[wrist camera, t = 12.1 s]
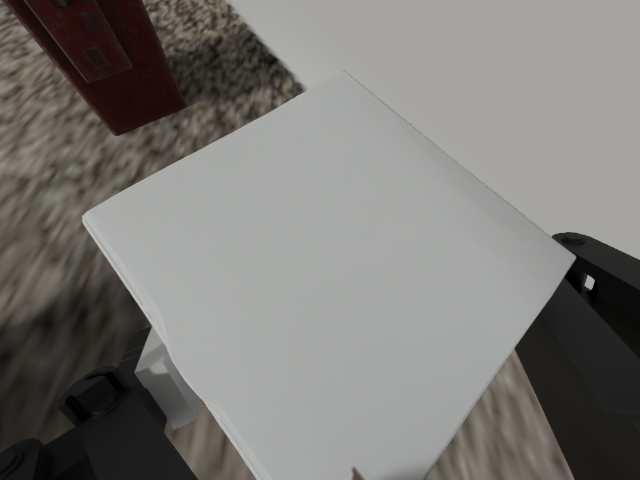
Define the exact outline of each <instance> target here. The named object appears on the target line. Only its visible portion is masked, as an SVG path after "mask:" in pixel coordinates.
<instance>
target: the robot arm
mask: <svg viewBox="0 0 640 480" xmlns="http://www.w3.org/2000/svg"><path fill="white" fill-rule="evenodd" d="M552 238H553V239H554V240H555V241H557V242H558V243H559V244H561V245H562V246H563V247H564V248H566V249H567V250H568V251H570V252H571V253H572V254H574V255H575V256H576V259H575V261H574V262H573V264H572V265H571V267H570V268H569V270H568V271H567V273H566V274H565V276H564V278H563V279H562V281H561V282H560V284H559V285H558V287H557V289H556V290H555V292H554V293H553V295H552V296H551V298H550V299H549V300H548V302H547V303H546V305H545V306H544V307H543V309H542V310H541V311H540V313H539V314H538V316H537V317H536V318H535V320H534V321H533V323H532V324H531V325H530V327H529V328H528V330H527V331H526V332H525V334H524V335H523V337H522V338H521V339H520V341H519V342H518V344H517V345H516V346H515V350H516V353H517V355H518V357H519V359H520V361H521V363H522V366H523V368H524V370H525V372H526V374H527V376H528V379H529V381H530V383H531V385H532V387H533V390H534V392H535V394H536V396H537V398H538V400H539V403H540V405H541V407H542V409H543V411H544V413H545V416H546V418H547V420H548V422H549V424H550V427H551V429H552V431H553V433H554V435H555V437H556V440H557V442H558V444H559V446H560V448H561V450H562V453H563V455H564V457H565V459H566V461H567V463H568V466H569V468H570V470H571V472H572V474H573V477H574V479H575V480H640V260H639V259H636V258H634V257H632V256H630V255H628V254H626V253H624V252H621V251H619V250H617V249H615V248H613V247H610V246H609V245H607V244H604V243H602V242H600V241H598V240H596V239H594V238H592V237H589V236H586V235H582V234H578V233H571V232H566V233H559V234H555V235H553V236H552ZM587 275H589V276H591V277H592V278H593V279H594V280H595V283H594V285H593V288H592V290H590V289H588V288H587V287H585V282H586V279H587ZM199 400H200V397H199V396H198V395H197V394H196V393H195V392H194V391H193V390H192V389H191V387H190V386H189V385H188V384H187V383H186V382H185V380H184V379H183V377H182V376H181V374H180V373H179V371H178V369H177V368H176V366H175V365H174V363H173V362H172V359H171V357H170V355H169V352H168V350H167V348H166V346H165V344H164V343H163V341H162V340H161V338H160V337H159V335H158V334H157V332H156V331H155V329H154V328H153V326H152V327H149V328H146V329H144V330H141V331H139V332H138V333H137V335H136V336H135V337H134V338H133V339H132V340H131V341H130V343H129V345H128V348H127V350H126V354H124V356H123V359H122V362H121V363H120V365H119V367H118V369H117V368H115V367H113V366H108V367H103V368H100V369H97V370H94V371H93V372H91V373H89V374H87V375H85V376H84V377H82V378H81V379H80V380H78V381H77V382H76V383H74V384H73V385H72V386H71V387H70V388H69V389H68V390H67V391H66V392H65V394H64V395H63V397H62V399H61V400H60V403H59V409H60V410H61V411H62V412H63V413H64V414H65V415H66V416H67V417H68V418H69V420H70V421H71V422H72V423H73V424H74V425H75V426H76V427H74V428H73V429H71V430H70V431H68V432H66V433H65V434H63V435H61V436H60V437H58V438H56V439H55V440H53V441H51V442H50V443H48V444H46V445H43V444H42V443H41V442H40V441H39V440H37V439H34V438H31V439H27V440H23V441H21V442H19V443H17V444H15V445H12V446H11V447H9V448H8V449H6V450H5V451H3V452H2V453H0V480H198V479H197V477H196V476H195V475H194V473H193V472H192V471H191V469H190V468H189V466H188V465H187V464H186V462H185V461H184V460H183V458H182V457H181V456H180V454H179V453H178V451H177V450H176V449H175V447H174V446H173V445H172V443H171V442H170V440H169V439H168V438H167V436H166V435H165V434H164V429H165V424H166V419H167V421H168V422H169V424H170V425H171V427H172V428H173V430H174V429H177V428H179V427H182V426H184V425H186V424H189V423H191V422H193V421H196V420H198V411H199Z"/></svg>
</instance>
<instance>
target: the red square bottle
mask: <svg viewBox="0 0 640 480" xmlns="http://www.w3.org/2000/svg"><path fill="white" fill-rule="evenodd" d="M2 1H3V2H4V3H5V5H6V6H7V7H8V8H9V9H10V11H11V12H12V13H13V14H14V15H15V17H16V18H17V19H18V20H19V21H20V23H21V24H22V25H23V26H24V28H25V29H26V30H27V31H28V32H29V34H30V35H31V36H32V37H33V38H34V40H35V41H36V42H37V43H38V44H39V46H40V47H41V48H42V49H43V50H44V52H45V53H46V54H47V55H48V56H49V58H50V59H51V60H52V61H53V62H54V64H55V65H56V66H57V67H58V68H59V70H60V71H61V72H62V73H63V74H64V76H65V77H66V78H67V79H68V81H69V82H70V83H71V84H72V85H73V87H74V88H75V89H76V90H77V91H78V93H79V94H80V95H81V96H82V97H83V99H84V100H85V101H86V102H87V103H88V105H89V106H90V107H91V108H92V109H93V111H94V112H95V113H96V114H97V115H98V117H99V118H100V119H101V120H102V121H103V123H104V124H105V125H106V126H107V128H108V129H109V130H110V131H111V132H112V134H113V135H115V136H118V135H120V134H123V133H125V132H128V131H130V130H133V129H135V128H137V127H140V126H142V125H145V124H147V123H150V122H152V121H154V120H157V119H159V118H162V117H164V116H166V115H169V114H171V113H174V112H176V111H179V110H181V109H183V108H186V107H187V104H186V102H185V99H184V97H183V95H182V92H181V90H180V88H179V85H178V83H177V81H176V78H175V76H174V74H173V71H172V69H171V67H170V64H169V62H168V60H167V57H166V55H165V53H164V50H163V48H162V46H161V43H160V41H159V39H158V36H157V34H156V32H155V29H154V27H153V25H152V22H151V20H150V18H149V15H148V13H147V11H146V8H145V6H144V4H143V1H142V0H2Z"/></svg>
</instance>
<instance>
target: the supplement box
mask: <svg viewBox="0 0 640 480" xmlns="http://www.w3.org/2000/svg"><path fill="white" fill-rule="evenodd" d="M82 222H83V224H84V226H85V227H86V229H87V230H88V232H89V233H90V234H91V236H92V237H93V239H94V240H95V242H96V243H97V245H98V246H99V248H100V249H101V251H102V252H103V254H104V255H105V257H106V258H107V260H108V261H109V262H110V264H111V265H112V267H113V268H114V270H115V271H116V273H117V274H118V276H119V277H120V279H121V280H122V282H123V283H124V284H125V286H126V287H127V289H128V290H129V292H130V293H131V295H132V296H133V298H134V299H135V301H136V302H137V304H138V305H139V307H140V308H141V310H142V311H143V313H144V314H145V316H146V317H147V319H148V320H149V322H150V323H151V325H152V326H153V328H154V329H155V331H156V332H157V334H158V335H159V337H160V338H161V340H162V341H163V343H164V344H165V346H166V348H167V350H168V352H169V355H170V357H171V359H172V362H173V363H174V365H175V366H176V368H177V369H178V371H179V373H180V374H181V376H182V377H183V379H184V380H185V382H186V383H187V384H188V385H189V386H190V387H191V389H192V390H193V391H194V392H195V393H196V394H197V395H198V396H199V397H200V398H201V399H202V400H203V401H204V403H205V404H206V406H207V407H208V409H209V410H210V412H211V413H212V415H213V416H214V418H215V419H216V421H217V422H218V424H219V425H220V426H221V428H222V429H223V431H224V432H225V434H226V435H227V436H228V438H229V439H230V441H231V442H232V444H233V445H234V447H235V448H236V449H237V451H238V452H239V454H240V455H241V457H242V458H243V460H244V461H245V463H246V464H247V466H248V467H249V469H250V470H251V472H252V473H253V475H254V476H255V478H256V479H257V480H425V479H426V478H427V476H428V475H429V473H430V472H431V470H432V469H433V467H434V466H435V464H436V463H437V461H438V460H439V458H440V457H441V455H442V454H443V452H444V451H445V449H446V448H447V446H448V445H449V443H450V442H451V440H452V439H453V437H454V436H455V434H456V433H457V431H458V430H459V428H460V427H461V425H462V424H463V422H464V421H465V419H466V418H467V416H468V415H469V413H470V412H471V410H472V409H473V407H474V406H475V404H476V403H477V401H478V400H479V398H480V397H481V395H482V394H483V392H484V391H485V389H486V388H487V386H488V385H489V383H490V382H491V380H492V379H493V377H494V376H495V374H496V373H497V372H498V370H499V369H500V367H501V366H502V364H503V363H504V362H505V360H506V359H507V358H508V356H509V355H510V354H511V352H512V351H513V349H514V348H515V346H516V345H517V344H518V342H519V341H520V339H521V338H522V337H523V335H524V334H525V332H526V331H527V330H528V328H529V327H530V325H531V324H532V323H533V321H534V320H535V318H536V317H537V316H538V314H539V313H540V311H541V310H542V309H543V307H544V306H545V305H546V303H547V302H548V300H549V299H550V298H551V296H552V295H553V293H554V292H555V290H556V289H557V287H558V285H559V284H560V282H561V281H562V279H563V278H564V276H565V274H566V273H567V271H568V270H569V268H570V267H571V265H572V264H573V262H574V261H575V259H576V256H575V255H574V254H572V253H571V252H570V251H568V250H567V249H566V248H564V247H563V246H562V245H561V244H559V243H558V242H557V241H555V240H554V239H553V238H552V237H550V236H549V235H548V234H547V233H545V232H544V231H543V230H541V229H540V228H539V227H538V226H536V225H535V224H534V223H533V222H532V221H530V220H529V219H528V218H527V217H525V216H524V215H523V214H522V213H520V212H519V211H518V210H517V209H515V208H514V207H513V206H512V205H510V204H509V203H508V202H507V201H505V200H504V199H503V198H502V197H500V196H499V195H498V194H497V193H495V192H494V191H493V190H492V189H490V188H489V187H488V186H486V185H485V184H484V183H483V182H481V181H480V180H479V179H478V178H476V177H475V176H473V174H471V173H470V172H469V171H467V170H466V169H465V168H464V167H462V166H461V165H460V164H459V163H458V162H456V161H455V160H454V159H453V158H451V157H450V156H449V155H448V154H447V153H445V152H444V151H443V150H442V149H440V148H439V147H438V146H437V145H435V144H434V143H433V142H432V141H431V140H429V139H428V138H427V137H426V136H424V135H423V134H422V133H421V132H419V131H418V130H417V129H416V128H415V127H413V126H412V125H411V124H410V123H408V122H407V121H406V120H405V119H403V118H402V117H401V116H400V115H398V114H397V113H396V112H395V111H393V110H392V109H391V108H390V107H388V106H387V105H386V104H385V103H384V102H382V101H381V100H380V99H379V98H377V97H376V96H375V95H374V94H373V93H371V92H370V91H369V90H367V89H366V88H365V87H364V86H363V85H362V84H360V83H359V82H358V81H357V80H356V79H354V78H353V77H352V76H351V75H350V74H348V73H347V72H346V71H342V72H341V73H339V74H338V75H336V76H334V77H333V78H331V79H328V80H326V81H325V82H322V83H320V84H318V85H316V86H314V87H312V88H311V89H309V90H307V91H305V92H304V93H302V94H300V95H298V96H296V97H295V98H293V99H291V100H290V101H288V102H286V103H285V104H283V105H282V106H280V107H278V108H276V109H275V110H273V111H271V112H269V113H268V114H266V115H264V116H262V117H260V118H258V119H256V120H254V121H252V122H251V123H249V124H247V125H245V126H243V127H242V128H240V129H238V130H236V131H234V132H233V133H231V134H229V135H227V136H225V137H223V138H221V139H219V140H217V141H215V142H213V143H212V144H210V145H208V146H206V147H204V148H202V149H200V150H199V151H197V152H195V153H193V154H191V155H189V156H187V157H185V158H183V159H181V160H179V161H177V162H175V163H173V164H172V165H170V166H168V167H166V168H164V169H162V170H160V171H159V172H157V173H155V174H153V175H151V176H149V177H147V178H146V179H144V180H142V181H140V182H138V183H136V184H134V185H132V186H131V187H129V188H127V189H125V190H123V191H122V192H120V193H118V194H116V195H115V196H113V197H111V198H109V199H108V200H106V201H104V202H103V203H101V204H99V205H97V206H96V207H94V208H92V209H91V210H89V211H87V212H86V213H85V214H84V215H83V216H82Z"/></svg>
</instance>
